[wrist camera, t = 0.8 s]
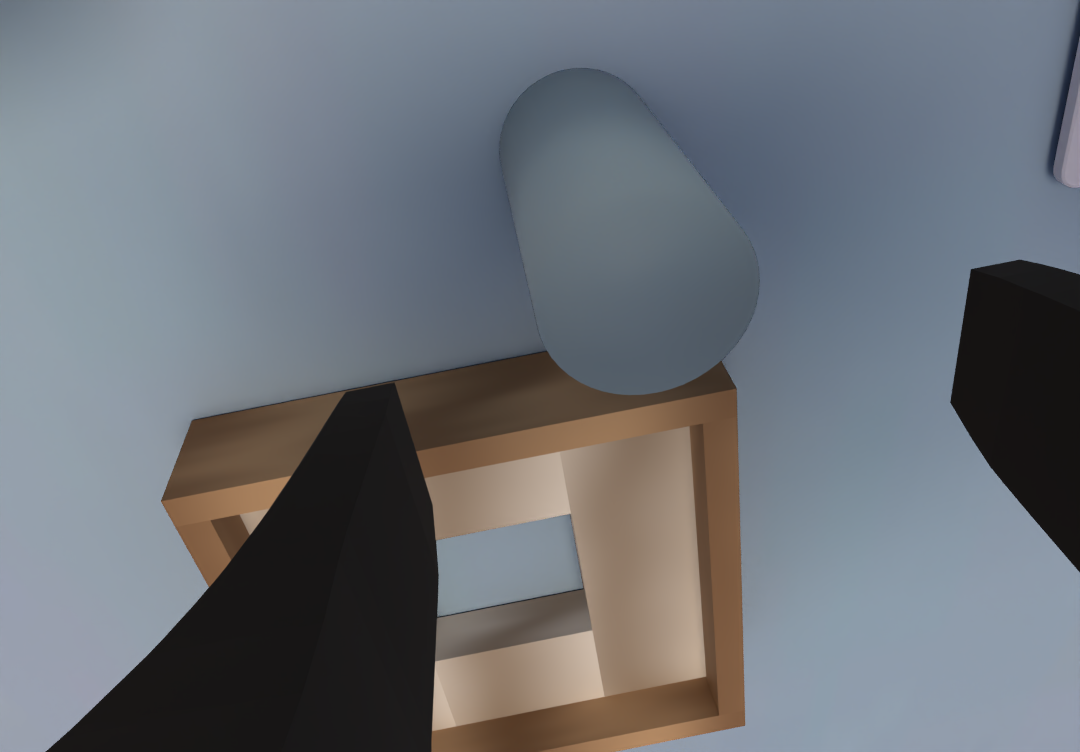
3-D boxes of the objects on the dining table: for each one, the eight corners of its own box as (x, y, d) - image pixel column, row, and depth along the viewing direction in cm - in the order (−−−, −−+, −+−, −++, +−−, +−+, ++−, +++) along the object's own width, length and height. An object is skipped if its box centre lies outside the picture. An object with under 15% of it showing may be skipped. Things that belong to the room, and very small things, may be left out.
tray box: (699, 321, 21) (736, 388, 19) (716, 646, 28) (745, 725, 26) (191, 420, 21) (161, 501, 18) (340, 721, 28) (332, 808, 26)
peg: (646, 54, 17) (758, 172, 12) (659, 205, 19) (760, 372, 13) (485, 84, 17) (517, 218, 12) (513, 234, 19) (553, 413, 13)
